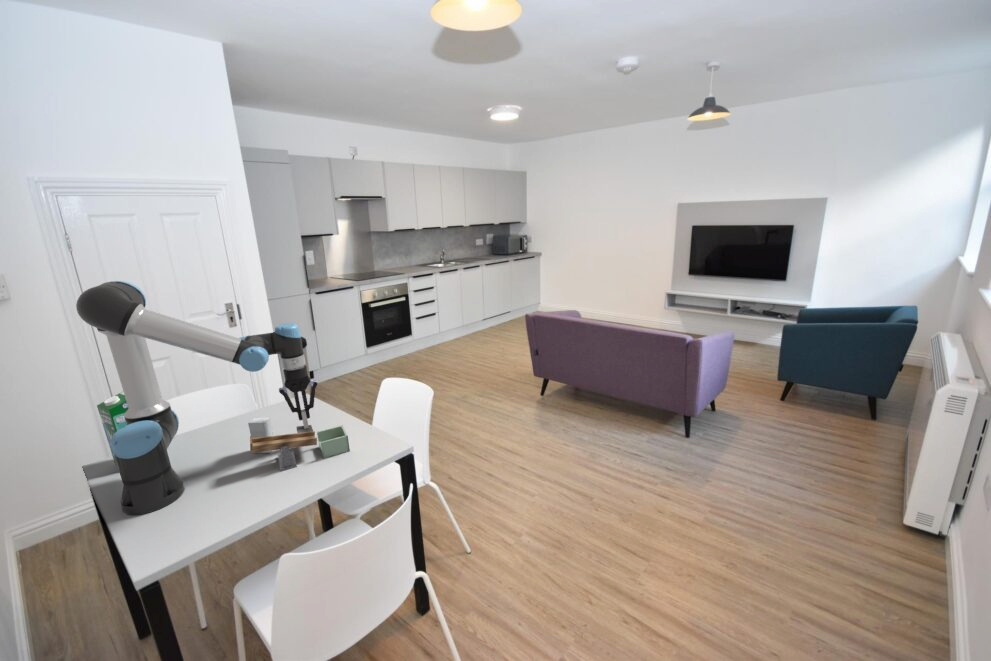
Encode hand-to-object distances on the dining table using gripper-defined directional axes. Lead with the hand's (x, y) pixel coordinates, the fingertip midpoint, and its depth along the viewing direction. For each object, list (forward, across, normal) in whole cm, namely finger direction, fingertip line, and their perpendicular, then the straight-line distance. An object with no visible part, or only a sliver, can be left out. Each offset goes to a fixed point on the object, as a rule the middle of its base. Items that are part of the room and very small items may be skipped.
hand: (306, 426), depth 159 cm
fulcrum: (+6, -8, -10) cm, 14 cm away
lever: (0, -8, -5) cm, 10 cm away
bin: (+7, +7, -10) cm, 14 cm away
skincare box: (+7, -14, +3) cm, 16 cm away
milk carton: (+6, -55, +21) cm, 59 cm away
